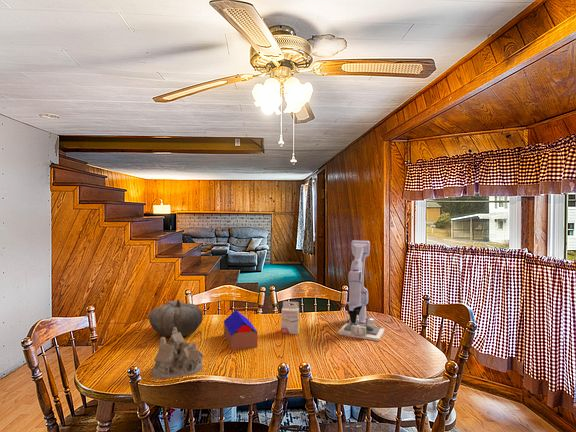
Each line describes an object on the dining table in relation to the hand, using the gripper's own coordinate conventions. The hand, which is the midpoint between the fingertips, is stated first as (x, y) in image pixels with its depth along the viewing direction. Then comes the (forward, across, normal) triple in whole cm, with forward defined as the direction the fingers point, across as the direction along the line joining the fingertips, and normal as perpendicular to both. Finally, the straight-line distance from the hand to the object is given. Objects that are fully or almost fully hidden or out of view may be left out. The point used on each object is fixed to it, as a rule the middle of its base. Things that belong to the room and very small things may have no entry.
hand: (354, 321), depth 176 cm
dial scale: (+5, +2, +4) cm, 6 cm away
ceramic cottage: (+5, +73, -49) cm, 88 cm away
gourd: (+5, +43, -77) cm, 88 cm away
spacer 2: (+2, 0, +8) cm, 8 cm away
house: (+5, +38, -44) cm, 58 cm away
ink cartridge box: (+5, +17, -28) cm, 33 cm away
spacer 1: (+2, 0, 0) cm, 2 cm away
